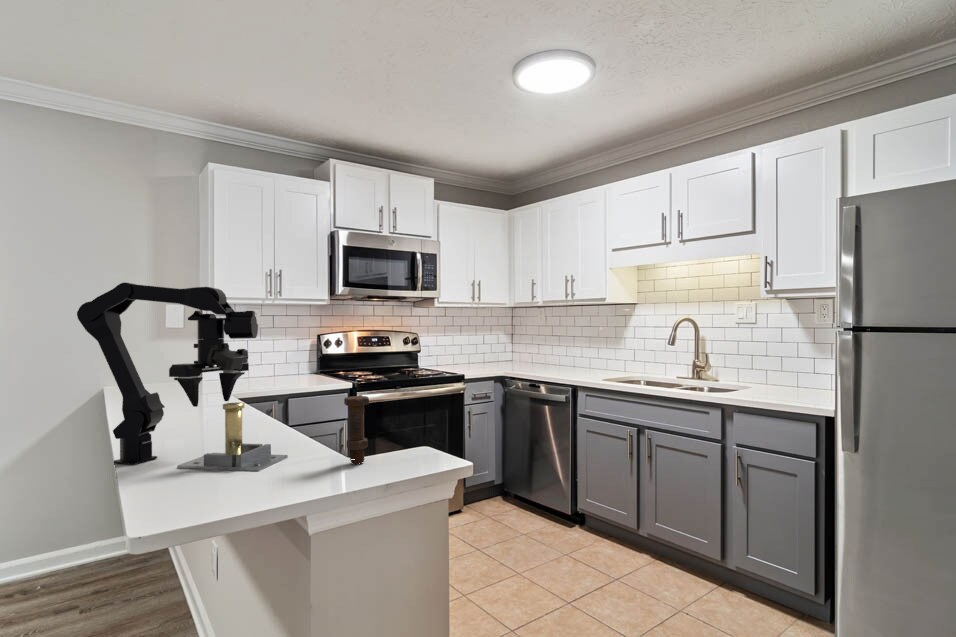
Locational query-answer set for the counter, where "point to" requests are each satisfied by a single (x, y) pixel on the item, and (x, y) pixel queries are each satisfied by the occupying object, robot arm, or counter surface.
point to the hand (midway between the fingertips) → (211, 403)
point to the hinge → (237, 459)
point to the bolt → (356, 427)
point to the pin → (233, 428)
